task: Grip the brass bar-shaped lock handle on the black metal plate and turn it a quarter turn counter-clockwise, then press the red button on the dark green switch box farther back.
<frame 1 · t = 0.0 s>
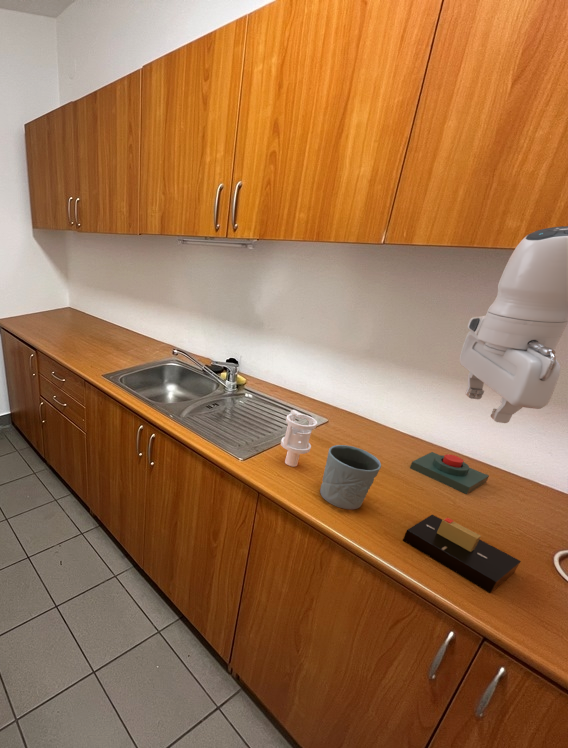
hand: (484, 408, 69), 33 cm above the worktop, tool pointing down, fingers open, 8 cm apart
lock plate: (455, 555, 80), on the worktop
lock knob: (458, 533, 79), point 5 cm above the worktop, hinge at 0.0°
button: (452, 461, 102), point 4 cm above the worktop, slide at 0.1 cm
strainer: (290, 463, 109), on the worktop
grey plant pot: (341, 498, 96), on the worktop
switch box: (446, 475, 103), on the worktop
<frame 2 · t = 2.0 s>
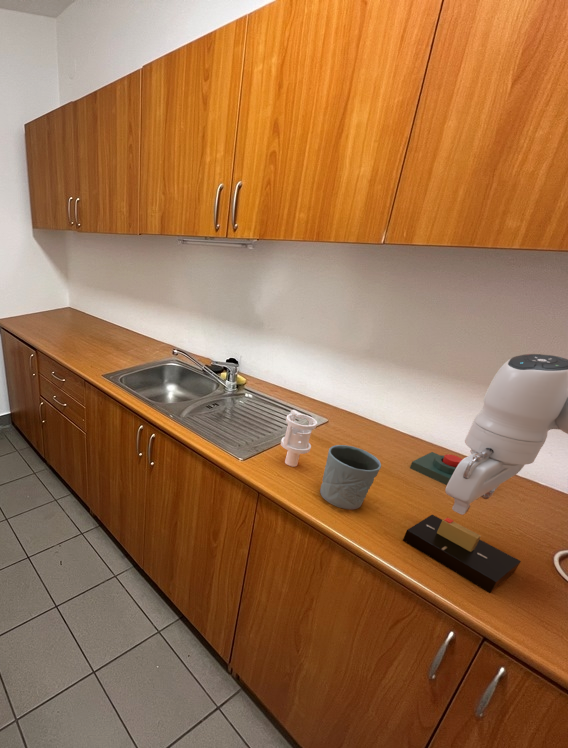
hand: (471, 503, 76), 12 cm above the worktop, tool pointing down, fingers open, 8 cm apart
nothing on the worktop moved.
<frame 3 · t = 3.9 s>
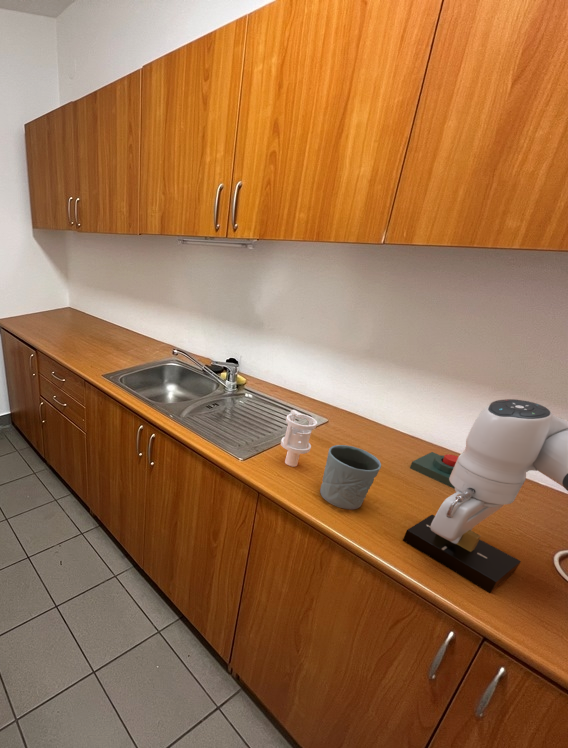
hand: (456, 537, 79), 4 cm above the worktop, tool pointing down, fingers closed on lock knob, 2 cm apart
lock knob: (458, 533, 79), point 5 cm above the worktop, hinge at 0.0°, touching gripper
everything else where it was.
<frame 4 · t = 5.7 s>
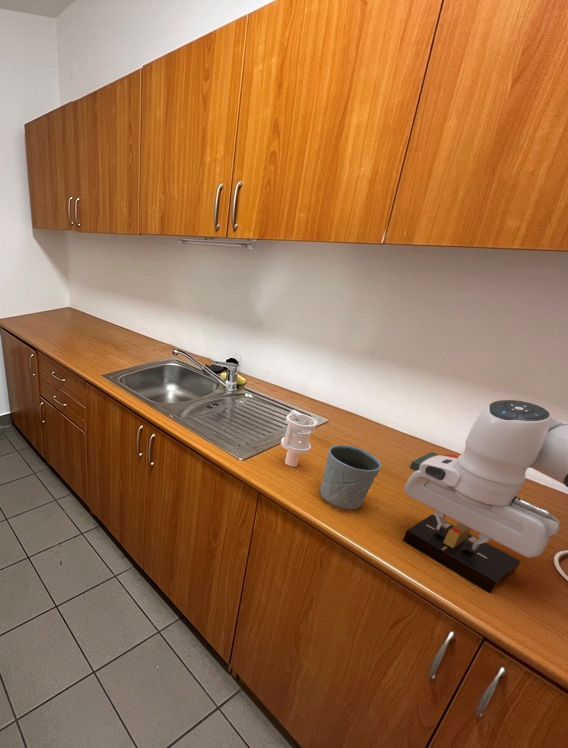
hand: (456, 538, 79), 4 cm above the worktop, tool pointing down, fingers open, 3 cm apart
lock knob: (458, 533, 79), point 5 cm above the worktop, hinge at 89.7°
everything else where it was.
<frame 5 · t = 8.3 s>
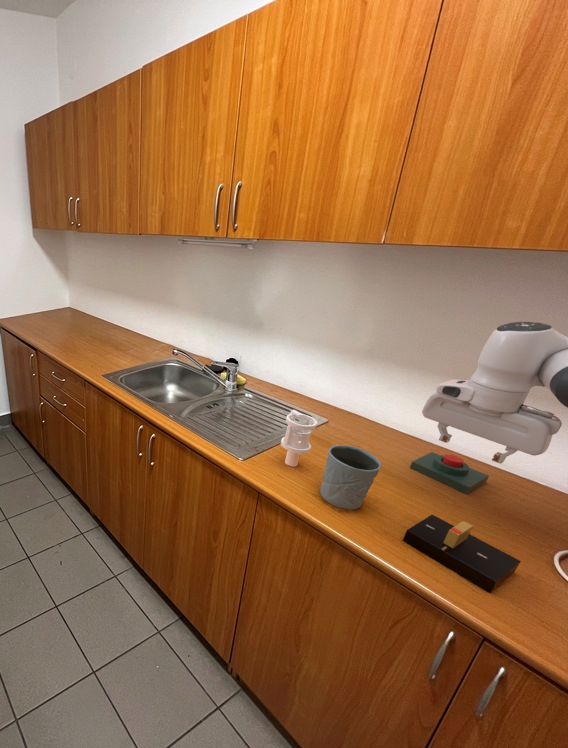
hand: (469, 450, 90), 14 cm above the worktop, tool pointing down, fingers open, 8 cm apart
nothing on the worktop moved.
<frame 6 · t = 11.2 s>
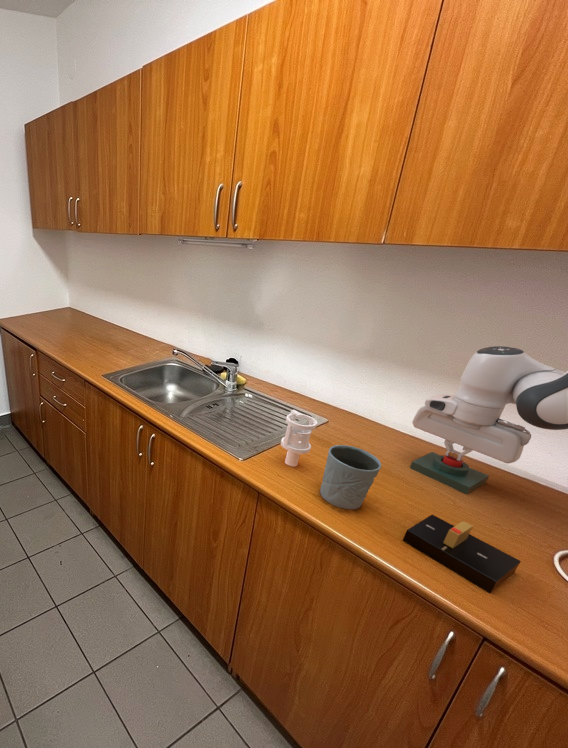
hand: (453, 458, 101), 5 cm above the worktop, tool pointing down, fingers closed, pressing on button
button: (452, 461, 102), point 4 cm above the worktop, slide at 0.0 cm, touching gripper
everything else where it was.
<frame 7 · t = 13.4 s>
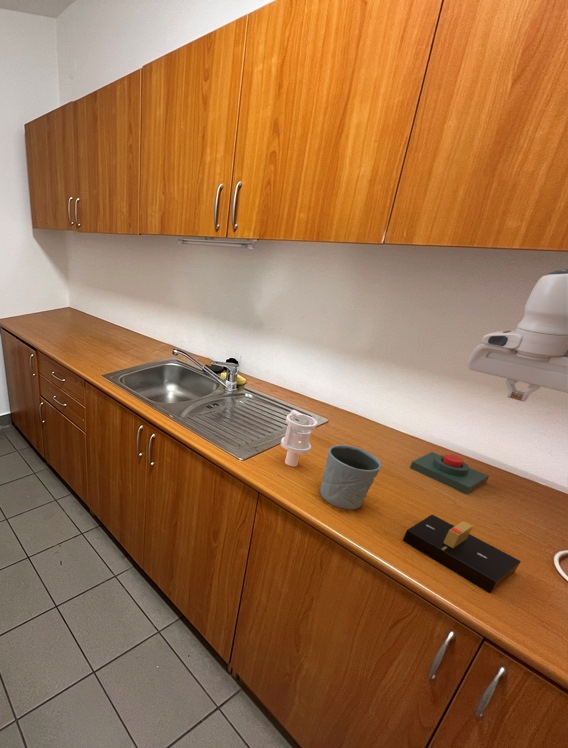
hand: (516, 399, 93), 23 cm above the worktop, tool pointing down, fingers closed
button: (452, 461, 102), point 4 cm above the worktop, slide at 0.1 cm
everything else where it was.
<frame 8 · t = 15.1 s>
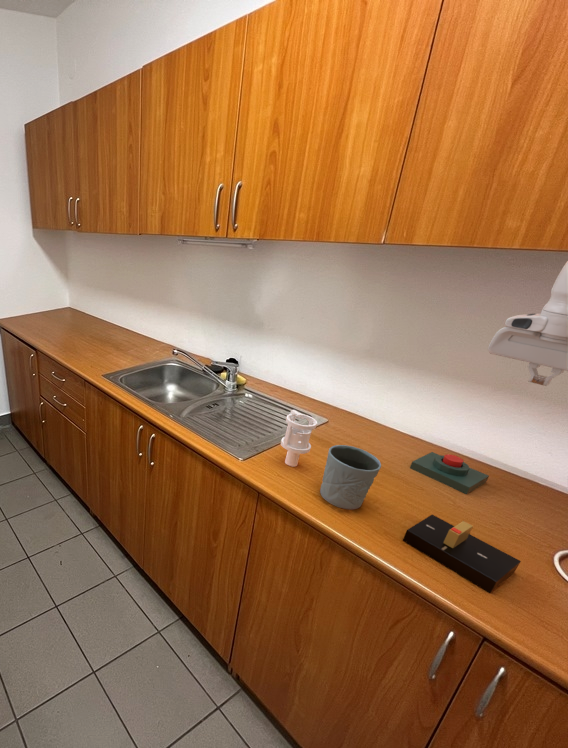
hand: (538, 383, 91), 27 cm above the worktop, tool pointing down, fingers closed
nothing on the worktop moved.
at the end: lock knob at +90° (first picture: +0°); button pushed in 1.0 cm at the most during the clip, back to where it started at the end; button slide at 0.1 cm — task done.
